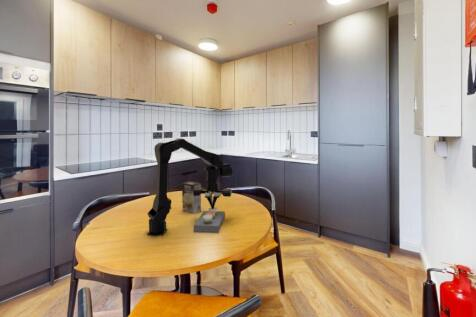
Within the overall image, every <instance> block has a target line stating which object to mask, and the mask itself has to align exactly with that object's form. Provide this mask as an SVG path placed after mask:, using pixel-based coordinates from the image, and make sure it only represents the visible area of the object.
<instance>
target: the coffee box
mask: <svg viewBox="0 0 476 317" xmlns="http://www.w3.org/2000/svg"><path fill="white" fill-rule="evenodd" d="M196 188H202V183H201V182H196V181H191V180H188V181H185V182H182V183H181V189H182V190H181V191H182V192H181V194H182V195H181V196H182V197H181V199H182V212H187V213H190V214H197V213H200V212H201V211H202V194H201V195H200V196H193V191H194V190H195V189H196Z"/></svg>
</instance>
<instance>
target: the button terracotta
mask: <svg viewBox="0 0 476 317" xmlns="http://www.w3.org/2000/svg"><path fill="white" fill-rule="evenodd" d="M206 215H212V218H214V217H215V212H206Z"/></svg>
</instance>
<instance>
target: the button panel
mask: <svg viewBox="0 0 476 317" xmlns="http://www.w3.org/2000/svg"><path fill="white" fill-rule="evenodd" d="M206 212H209V210H203V211H202V213H201V214H200V216H199V217H198V219H197V220H196V222H195V223H194V224H193V232H194V233H208V234H211V233H212V234H219V232H220V230H221V227H222V225H223V223H224V220H225V218H226V214H225V212H226V211H222V210H221V211H220V210H217V213H215V217H214V218H212V221H209V222H205V221H203V215H206Z"/></svg>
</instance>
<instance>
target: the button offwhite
mask: <svg viewBox="0 0 476 317" xmlns="http://www.w3.org/2000/svg"><path fill="white" fill-rule="evenodd" d="M208 211H209V212H215V213H217V211H218V207H215V206H214V209H212V208H211V207H209V208H208Z"/></svg>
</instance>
